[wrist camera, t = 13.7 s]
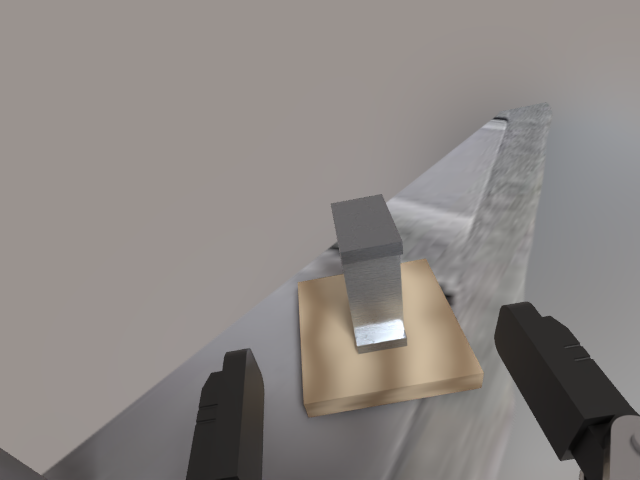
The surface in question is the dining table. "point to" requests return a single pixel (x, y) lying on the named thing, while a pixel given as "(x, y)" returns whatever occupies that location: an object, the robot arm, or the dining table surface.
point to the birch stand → (385, 365)
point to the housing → (371, 272)
